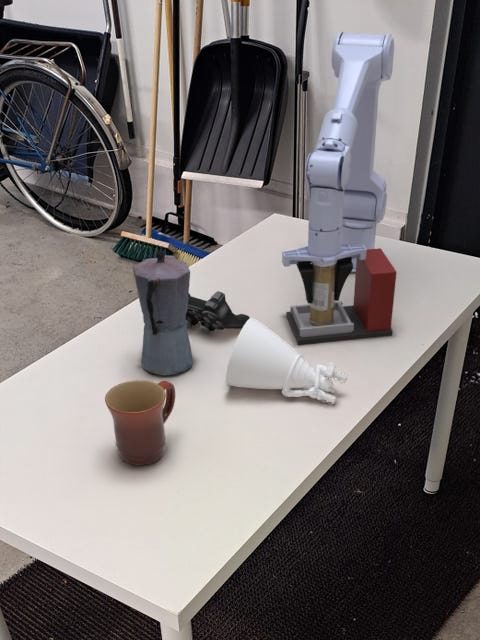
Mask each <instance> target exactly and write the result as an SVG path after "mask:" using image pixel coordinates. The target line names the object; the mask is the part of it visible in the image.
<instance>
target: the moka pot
mask: <svg viewBox="0 0 480 640" xmlns="http://www.w3.org/2000/svg"><path fill="white" fill-rule="evenodd" d="M155 255H156V257H152V258H146V259H144V260H142V261H140V262H137V263H136V264H135V265H133V266H132V272H133V276H134V281H135V286H136V290H137V295H138V300H139V306H140V309H141V313H142V318H143V319H142V321H143V324H144V325H143V334H142V335H143V336H142V350H141V351H142V352H141V366H142V368H143V369H144V370H145V371H147V372H148V373H151V374H154V375H158V376H171V375H176V374H180V373H182V372H183V373H184V372H185V371H187V370H189V369H190V368H191V367H192V365H193V361H194V359H193V353H192V346H191V342H190V335H189V331H188V328H187V324H186V322H185V321H186V313H187V309H188V294H190V292H189V291H190V283H191V282H190V280H191V270H190V267H189V265H188V263H187V261H185V260H181V259H177V258H176V257H175V255H167V254H166V251H163V250H157V251H156V252H155Z"/></svg>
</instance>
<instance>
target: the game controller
mask: <svg viewBox="0 0 480 640" xmlns="http://www.w3.org/2000/svg"><path fill="white" fill-rule="evenodd" d="M250 318H251V316H250V315H247V314H244V313H239V314H235V313H233V311H232V309H231V307H230V305H229V304H228V301H227V300H226V294H225V293H223V291H218V290H217V291H215V292H214V293H213V294H212V295H211V296H210V298H209V299H208V300H205V299H201V298H199V297H195V296H193V295H191V294H190V293H189V294H188V309H187V313H186V321H185V322H186V324H187V329H188V330H189V329H190V330H191V329H192V328H193V327H196V326H198V324H200V325H199V330H200V332H201V333H203V334H205V335H210V334H211V333H213V332H215V331H216V330H218V331H224V330H242V328H243V326H244V325H245V323H246V322H247V321H248V320H249V319H250Z"/></svg>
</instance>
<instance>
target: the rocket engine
mask: <svg viewBox="0 0 480 640" xmlns="http://www.w3.org/2000/svg"><path fill="white" fill-rule="evenodd" d="M336 368H337V364H335V363H334V362H332V361H329V363H328V365H327V366H325V364H316V365H315V366H314V368H313V367H312V366H311V364H310V363H309V362H307V361H306V358H304V357H303V354H302V353H299V352H298V351H296V350H295V349H294V347H293V346H291V345H290V344H289V343H288V342H287V341H285V340H284V339H283V338H282V337H281V336H280V335H278V334H277V333H276V332H274V331H273V330H272V329H271V328H269V327H267V326H266V325H265V324H263V323H262V322H261V321H259V320H257V319H255V318H253V317H250V319H249V320H248V321H247V322H246V323H245V325H244V326H243V328H242V329H240V332H239V334H238V336H237V338H236V340H235V343H234V346H233V347H232V351H231V353H230V358H229V360H228V363H227V369H226V374H225V383H226V385H227V386H231V387H237V388H246V389H258V390H281V393H282V395H283V396H284V397H287V398H292V397H293V398H301V397H306V396H307V397H308V396H309V397H310V398H311V399H316V400H318V401H322V402H323V403H328V405H334V404H335V402H336V399H337V396H335V395H334V394H333V393H335V391H336V389H335V384H334V381H335V382H337V381H338V382H339V383H340V384H343V383H344V384H345V383H346V382H347V380H348V377H349V375H348V374H345V373H343V372H340V371H339V370H336ZM332 378H333V379H332ZM333 380H334V381H333ZM304 388H307V390H306V389H304ZM308 388H309V389H308ZM292 389H293V390H292ZM301 389H304V390H301ZM328 392H329V393H328Z"/></svg>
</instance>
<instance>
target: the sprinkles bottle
mask: <svg viewBox="0 0 480 640" xmlns="http://www.w3.org/2000/svg"><path fill="white" fill-rule="evenodd" d="M336 263H337V260H335V262H334V263H329V264H324V263H323V262H316V261H312V263H311V264H312V269H313V271H314V277H313V286H312V294H313V300H312V303H309V304H310V319H309V320H310V323H311V324H313V325H315V326H325V325H331V324H332V323H333V321H334V317H333V315H334V302H335V268H336Z"/></svg>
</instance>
